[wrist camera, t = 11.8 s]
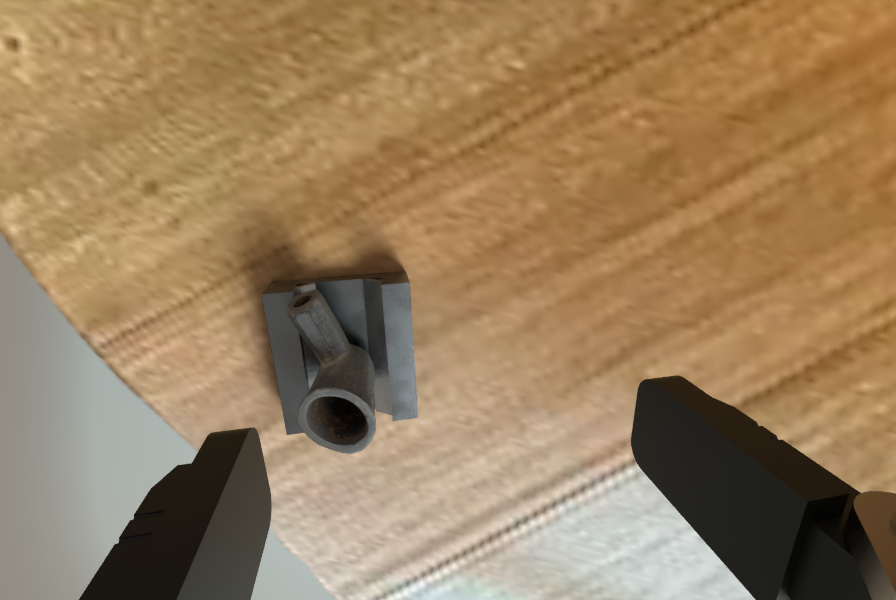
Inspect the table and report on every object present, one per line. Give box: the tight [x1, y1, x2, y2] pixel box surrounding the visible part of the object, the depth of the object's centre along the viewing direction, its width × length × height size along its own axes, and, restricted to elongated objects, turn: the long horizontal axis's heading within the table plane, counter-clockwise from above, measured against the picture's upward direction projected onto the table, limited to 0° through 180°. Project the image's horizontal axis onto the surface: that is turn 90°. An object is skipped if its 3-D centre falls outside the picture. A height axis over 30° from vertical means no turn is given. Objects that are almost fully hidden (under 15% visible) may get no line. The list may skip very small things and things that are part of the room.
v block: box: [261, 272, 418, 435], centre depth 41 cm, size 14×12×4 cm
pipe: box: [287, 289, 376, 454], centre depth 37 cm, size 6×13×8 cm, turn 20°
